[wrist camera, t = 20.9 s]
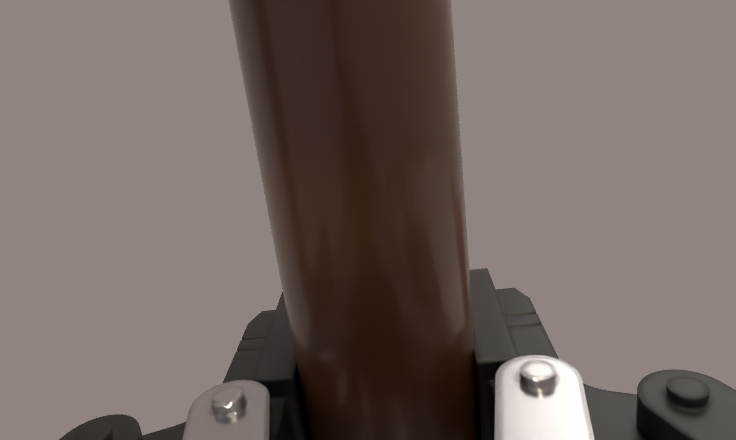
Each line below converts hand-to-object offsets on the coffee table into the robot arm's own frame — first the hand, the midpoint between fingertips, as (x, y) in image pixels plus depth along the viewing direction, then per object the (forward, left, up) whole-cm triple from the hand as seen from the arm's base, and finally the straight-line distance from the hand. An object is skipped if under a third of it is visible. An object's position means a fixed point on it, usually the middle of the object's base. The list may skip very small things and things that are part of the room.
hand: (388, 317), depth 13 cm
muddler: (-1, -3, -10) cm, 10 cm away
